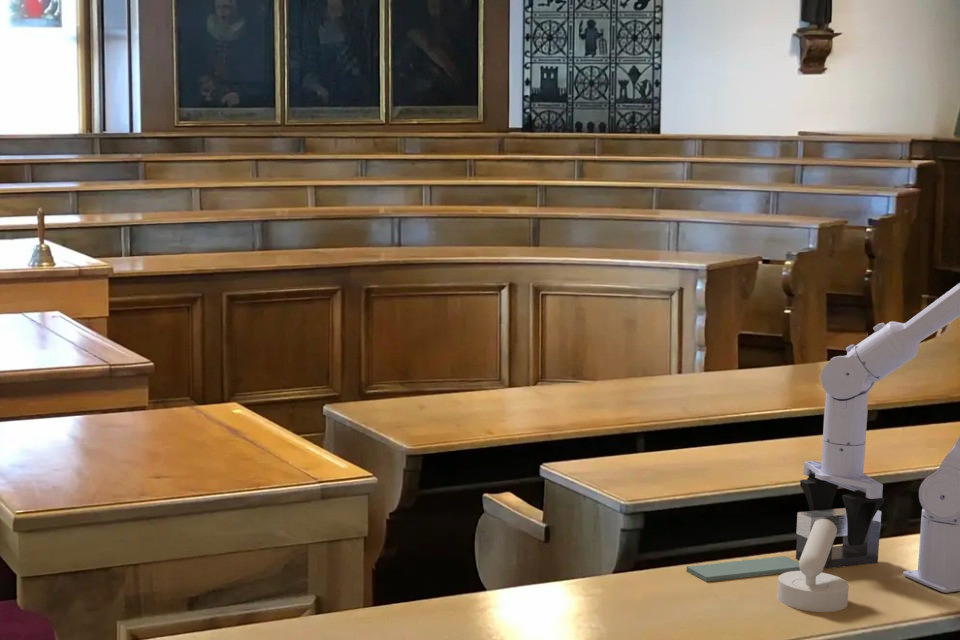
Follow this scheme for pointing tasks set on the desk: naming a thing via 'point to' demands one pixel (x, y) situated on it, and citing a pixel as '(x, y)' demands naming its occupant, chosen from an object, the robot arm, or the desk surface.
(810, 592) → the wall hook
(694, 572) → the rubber mat
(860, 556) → the dark grey slotted rack
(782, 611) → the desk surface
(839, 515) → the silver rail
